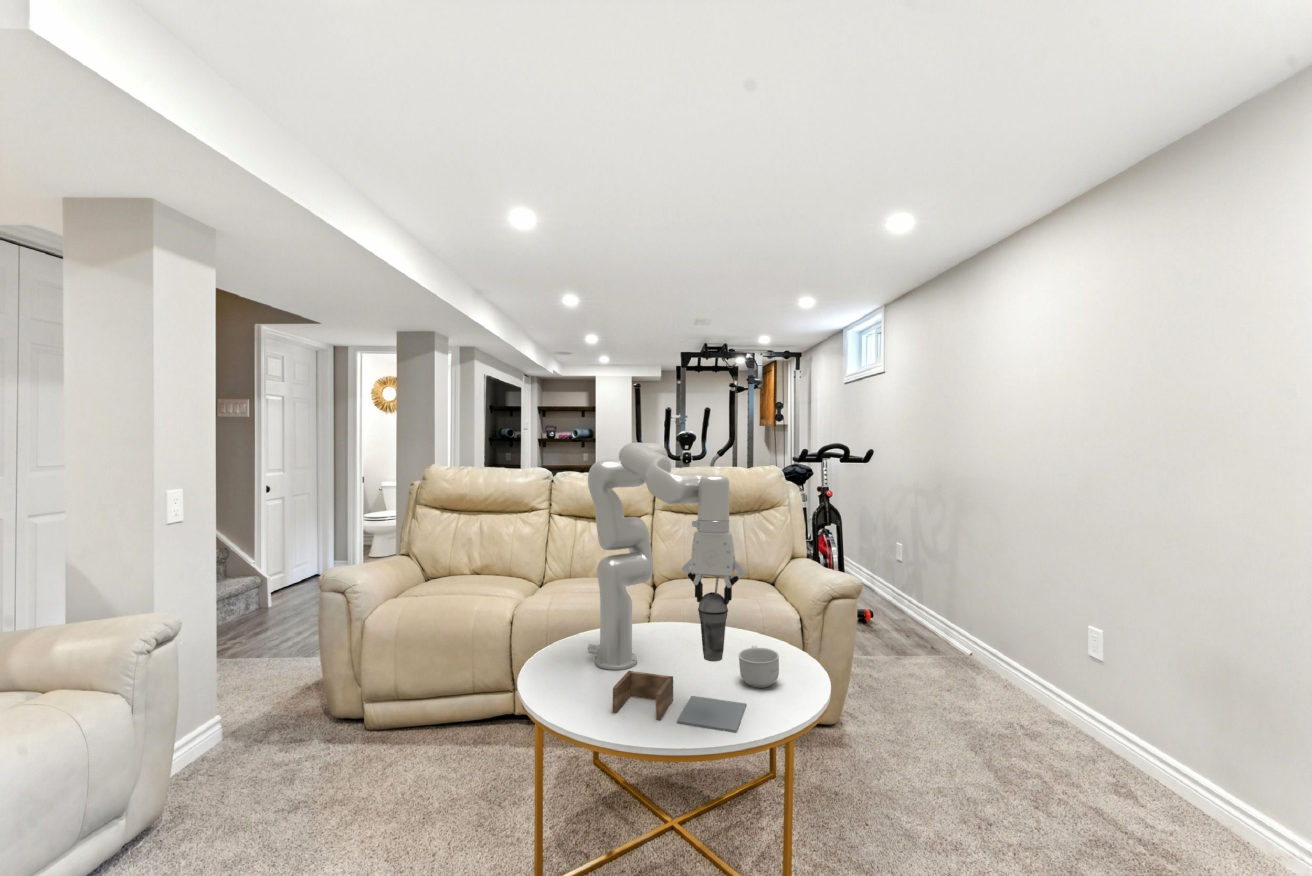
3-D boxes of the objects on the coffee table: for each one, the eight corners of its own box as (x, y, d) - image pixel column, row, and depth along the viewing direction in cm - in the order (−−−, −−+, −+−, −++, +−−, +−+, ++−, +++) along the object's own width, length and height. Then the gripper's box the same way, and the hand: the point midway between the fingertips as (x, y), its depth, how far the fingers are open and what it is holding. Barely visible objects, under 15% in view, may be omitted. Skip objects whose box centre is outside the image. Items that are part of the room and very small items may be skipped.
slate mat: (676, 723, 132) (676, 720, 132) (691, 697, 145) (691, 695, 145) (736, 732, 128) (736, 730, 128) (746, 705, 141) (746, 703, 141)
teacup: (779, 693, 148) (779, 662, 148) (737, 689, 150) (737, 659, 150) (778, 672, 162) (778, 644, 162) (740, 669, 164) (740, 641, 164)
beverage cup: (695, 652, 140) (695, 571, 140) (724, 652, 140) (724, 570, 141) (700, 664, 132) (700, 578, 133) (731, 663, 133) (731, 577, 133)
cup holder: (612, 712, 137) (612, 687, 137) (628, 693, 147) (628, 670, 147) (660, 720, 133) (660, 694, 133) (673, 700, 143) (673, 676, 144)
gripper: (674, 527, 136) (674, 602, 136) (747, 530, 131) (746, 609, 130) (682, 523, 143) (682, 595, 143) (751, 526, 138) (751, 601, 138)
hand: (713, 601), depth 137 cm, fingers closed on beverage cup, 6 cm apart
